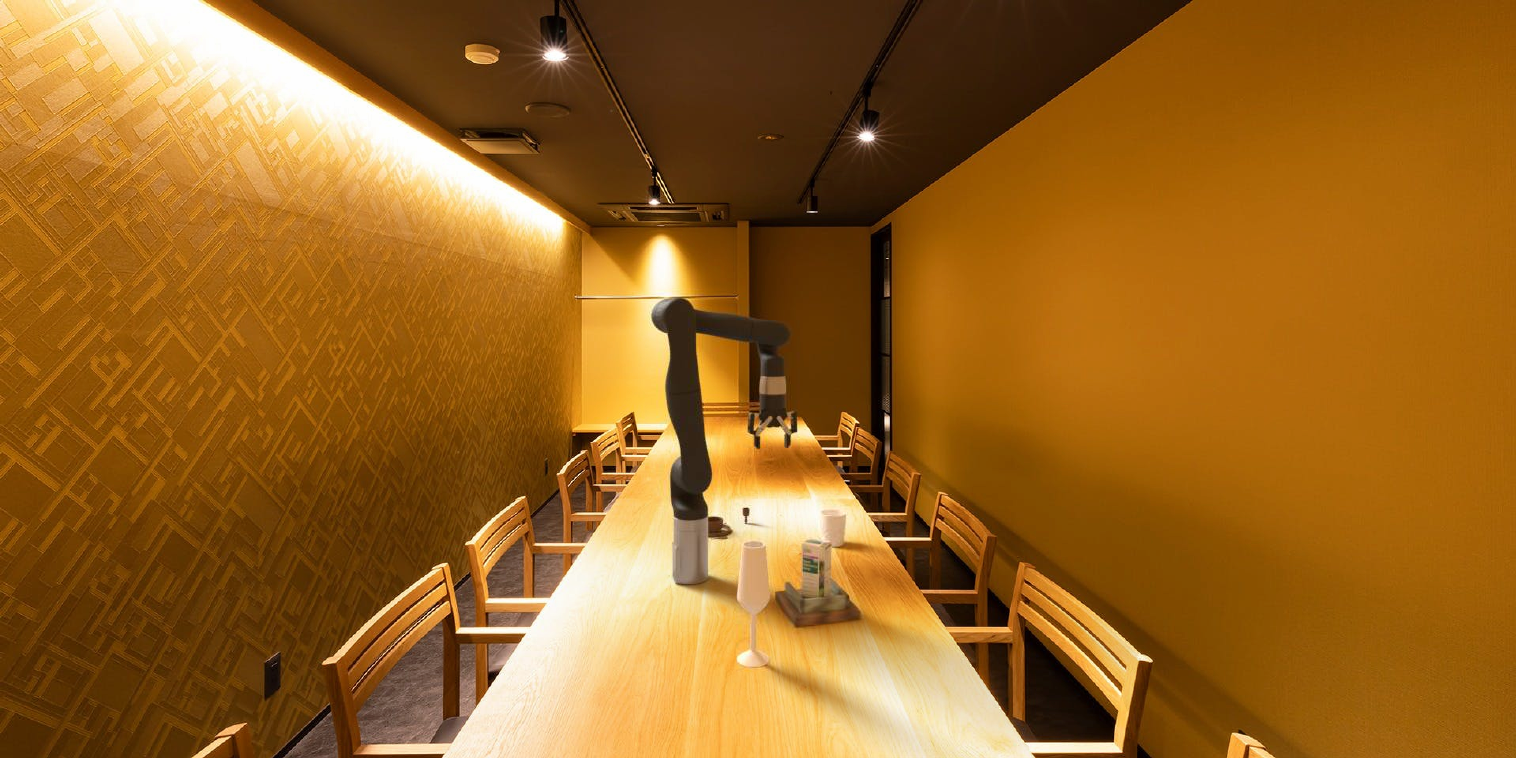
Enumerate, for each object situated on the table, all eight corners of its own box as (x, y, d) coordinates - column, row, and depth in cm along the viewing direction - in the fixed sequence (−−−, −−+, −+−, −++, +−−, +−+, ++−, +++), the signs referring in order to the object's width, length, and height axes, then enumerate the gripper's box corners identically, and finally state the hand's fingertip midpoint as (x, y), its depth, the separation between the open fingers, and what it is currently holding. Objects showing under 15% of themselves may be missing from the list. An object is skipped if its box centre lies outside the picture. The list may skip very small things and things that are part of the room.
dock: (795, 626, 153) (795, 605, 153) (775, 599, 168) (775, 579, 168) (860, 619, 157) (860, 598, 157) (835, 592, 173) (835, 573, 172)
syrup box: (800, 602, 161) (800, 543, 160) (809, 593, 167) (810, 536, 166) (822, 607, 159) (823, 546, 158) (831, 598, 164) (832, 539, 163)
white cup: (845, 540, 215) (845, 509, 215) (846, 548, 208) (846, 516, 207) (820, 539, 216) (820, 508, 215) (820, 547, 208) (820, 515, 208)
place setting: (691, 526, 231) (691, 509, 231) (748, 523, 236) (748, 506, 235) (698, 542, 214) (698, 524, 214) (759, 538, 219) (759, 520, 218)
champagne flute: (768, 650, 142) (769, 539, 140) (770, 667, 135) (771, 549, 133) (736, 651, 141) (737, 539, 140) (736, 667, 135) (737, 549, 133)
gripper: (752, 393, 187) (751, 451, 188) (800, 392, 191) (800, 449, 192) (745, 391, 194) (745, 447, 195) (792, 390, 198) (792, 445, 199)
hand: (772, 448), depth 194 cm, fingers open, 8 cm apart
